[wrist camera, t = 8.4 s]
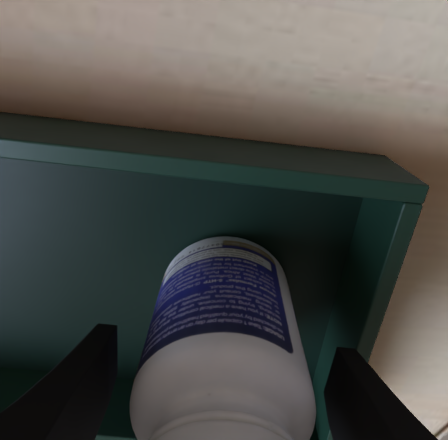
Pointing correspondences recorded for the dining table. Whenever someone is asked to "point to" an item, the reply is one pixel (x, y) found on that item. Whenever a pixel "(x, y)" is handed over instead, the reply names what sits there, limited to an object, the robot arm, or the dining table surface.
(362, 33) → the dining table surface
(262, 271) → the pill bottle
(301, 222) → the long green tray
